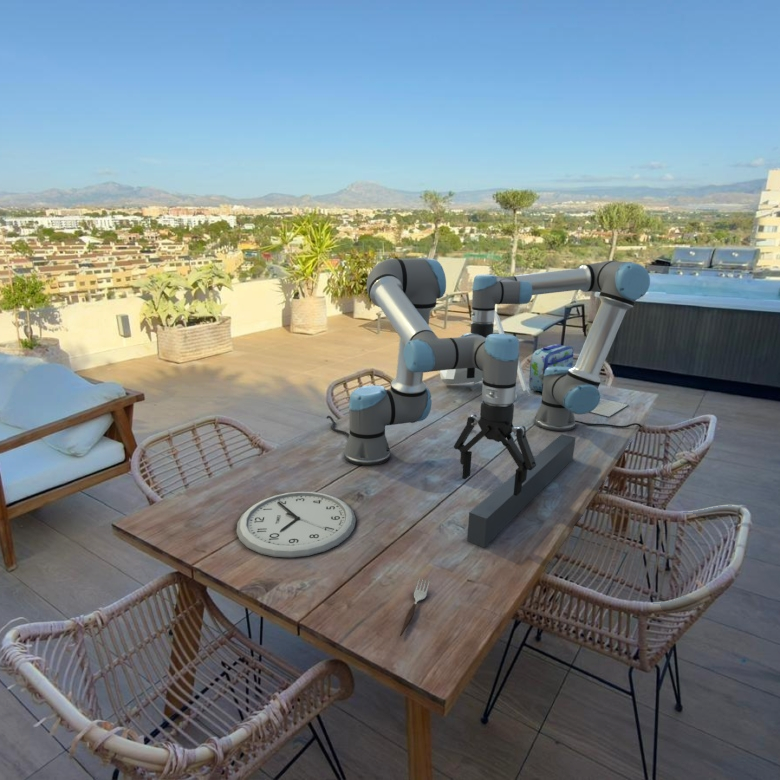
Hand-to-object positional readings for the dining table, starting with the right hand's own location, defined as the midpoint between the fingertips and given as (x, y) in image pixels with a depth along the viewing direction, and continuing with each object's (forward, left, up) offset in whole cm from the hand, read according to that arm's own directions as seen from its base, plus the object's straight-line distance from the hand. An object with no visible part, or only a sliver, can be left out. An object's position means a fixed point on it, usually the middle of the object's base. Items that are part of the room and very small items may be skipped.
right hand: (478, 383), depth 181 cm
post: (-14, +37, -22) cm, 45 cm away
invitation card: (-56, -47, -22) cm, 76 cm away
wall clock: (+47, +62, -22) cm, 81 cm away
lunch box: (-38, -70, -22) cm, 83 cm away
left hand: (-1, +60, -8) cm, 60 cm away
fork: (+15, +90, -22) cm, 94 cm away
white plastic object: (-4, -59, -22) cm, 63 cm away
